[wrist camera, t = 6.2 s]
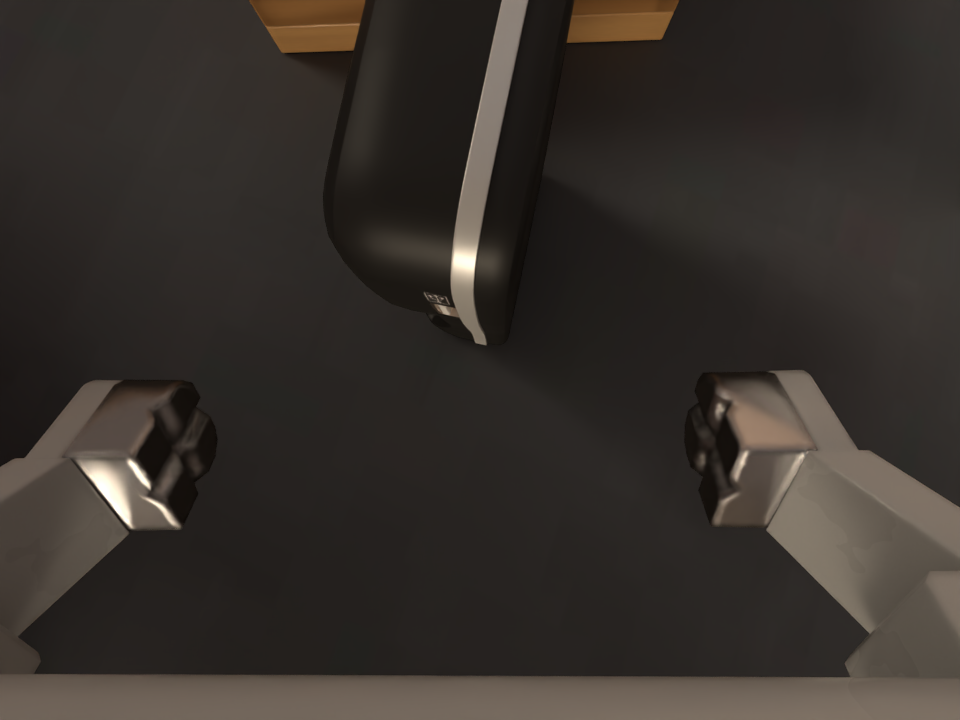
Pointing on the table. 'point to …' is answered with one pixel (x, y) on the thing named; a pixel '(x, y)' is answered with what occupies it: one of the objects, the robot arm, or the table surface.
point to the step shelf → (339, 4)
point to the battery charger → (445, 153)
